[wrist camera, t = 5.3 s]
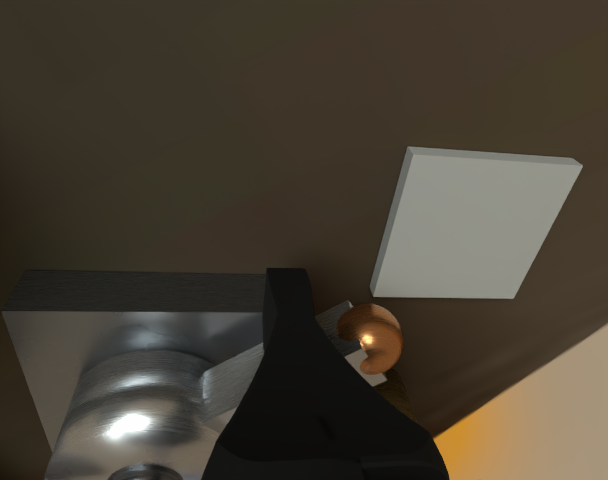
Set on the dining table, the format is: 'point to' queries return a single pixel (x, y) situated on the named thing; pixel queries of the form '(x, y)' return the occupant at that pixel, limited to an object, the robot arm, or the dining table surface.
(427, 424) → the dining table surface
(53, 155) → the dining table surface
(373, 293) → the mat
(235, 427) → the robot arm
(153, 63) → the dining table surface
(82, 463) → the silver lever handle
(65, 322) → the chuck base
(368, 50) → the dining table surface
